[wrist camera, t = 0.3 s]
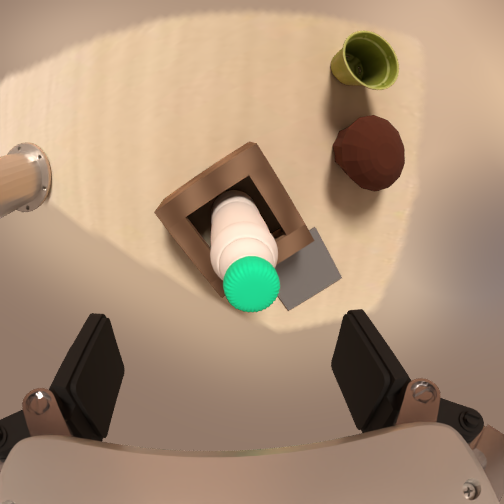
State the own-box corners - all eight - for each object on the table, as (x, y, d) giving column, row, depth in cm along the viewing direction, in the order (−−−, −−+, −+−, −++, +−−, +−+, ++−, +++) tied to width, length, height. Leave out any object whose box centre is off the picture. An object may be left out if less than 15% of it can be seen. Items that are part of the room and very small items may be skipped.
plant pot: (368, 47, 37) (394, 36, 29) (373, 96, 41) (402, 93, 33) (318, 41, 36) (339, 26, 28) (324, 93, 40) (346, 86, 32)
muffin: (391, 166, 46) (425, 176, 37) (343, 194, 47) (371, 210, 38) (366, 106, 41) (399, 103, 32) (313, 132, 43) (338, 133, 33)
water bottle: (264, 207, 47) (312, 284, 24) (236, 239, 48) (257, 339, 25) (230, 180, 44) (248, 234, 21) (202, 214, 46) (192, 299, 23)
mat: (288, 309, 55) (288, 310, 55) (255, 263, 50) (255, 264, 50) (341, 276, 54) (341, 277, 53) (314, 226, 49) (315, 227, 49)
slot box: (220, 273, 50) (221, 297, 43) (164, 198, 44) (154, 212, 37) (299, 223, 48) (314, 240, 41) (249, 141, 42) (256, 143, 35)
